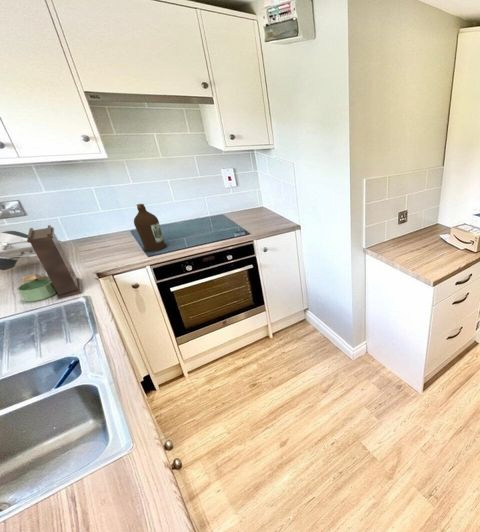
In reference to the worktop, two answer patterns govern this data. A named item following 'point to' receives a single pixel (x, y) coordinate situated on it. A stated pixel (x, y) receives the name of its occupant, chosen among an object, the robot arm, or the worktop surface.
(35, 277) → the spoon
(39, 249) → the dark wood pillar
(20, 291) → the bowl
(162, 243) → the olive oil
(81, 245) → the worktop surface
